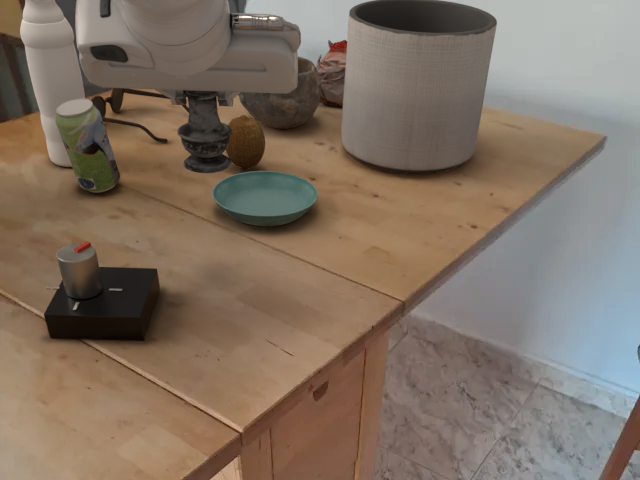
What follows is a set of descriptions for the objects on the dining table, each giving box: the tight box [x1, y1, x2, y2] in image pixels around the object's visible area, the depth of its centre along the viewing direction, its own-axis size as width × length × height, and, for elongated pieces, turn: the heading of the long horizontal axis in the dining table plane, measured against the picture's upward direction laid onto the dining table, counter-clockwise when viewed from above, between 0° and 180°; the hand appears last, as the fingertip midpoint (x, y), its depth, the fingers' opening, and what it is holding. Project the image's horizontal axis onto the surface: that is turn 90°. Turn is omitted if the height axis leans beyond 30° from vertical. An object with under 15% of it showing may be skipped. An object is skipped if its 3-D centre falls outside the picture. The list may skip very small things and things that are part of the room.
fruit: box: [225, 114, 266, 170], centre depth 104 cm, size 6×6×8 cm
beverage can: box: [55, 97, 121, 194], centre depth 96 cm, size 6×7×12 cm
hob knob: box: [55, 241, 103, 299], centre depth 73 cm, size 4×4×5 cm
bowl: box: [237, 56, 322, 130], centre depth 118 cm, size 14×15×10 cm
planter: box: [340, 0, 498, 176], centre depth 107 cm, size 22×22×20 cm
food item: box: [315, 39, 347, 108], centre depth 130 cm, size 14×8×10 cm, turn 169°
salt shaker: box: [177, 90, 233, 174], centre depth 72 cm, size 6×6×12 cm
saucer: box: [211, 170, 319, 227], centre depth 96 cm, size 15×15×3 cm
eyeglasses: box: [90, 88, 189, 143], centre depth 118 cm, size 15×15×5 cm
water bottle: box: [19, 0, 86, 168], centre depth 99 cm, size 7×7×25 cm
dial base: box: [43, 266, 161, 342], centre depth 76 cm, size 11×10×3 cm
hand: (202, 99), depth 72 cm, fingers closed on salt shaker, 3 cm apart
